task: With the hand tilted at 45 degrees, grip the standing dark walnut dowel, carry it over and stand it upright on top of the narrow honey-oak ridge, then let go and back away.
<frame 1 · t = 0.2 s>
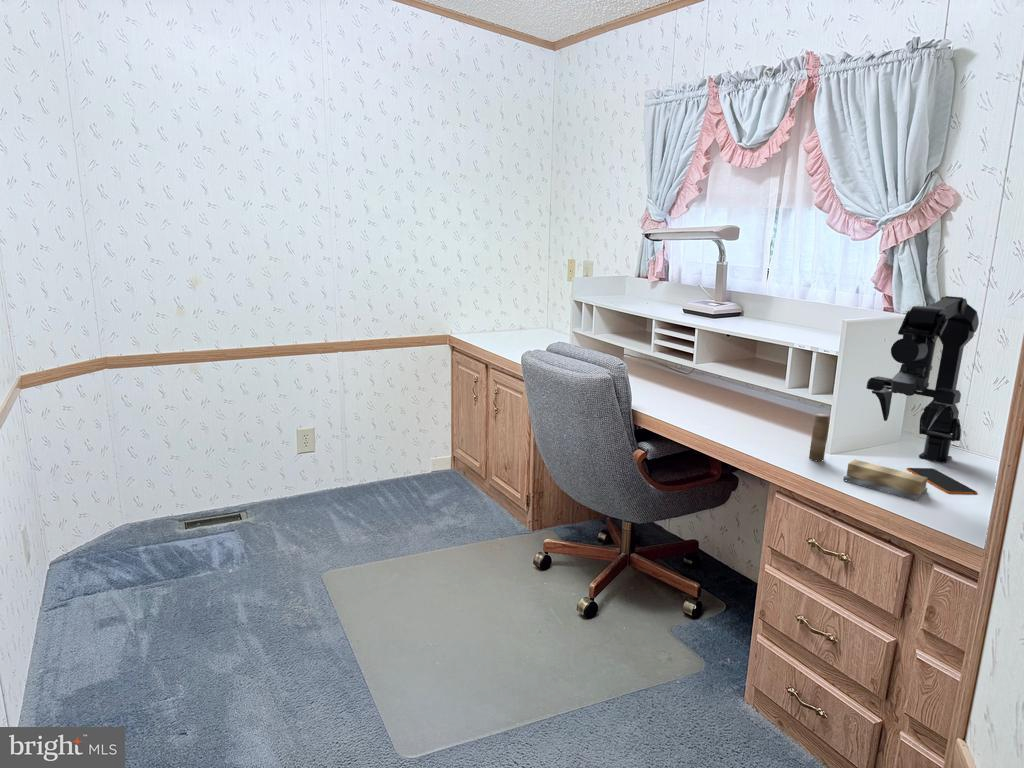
hand: (905, 425, 163), 14 cm above the table, tool pointing down, fingers open, 9 cm apart
smartphone: (939, 483, 167), on the table
walnut dowel: (816, 459, 180), on the table
oak ridge: (884, 486, 163), on the table
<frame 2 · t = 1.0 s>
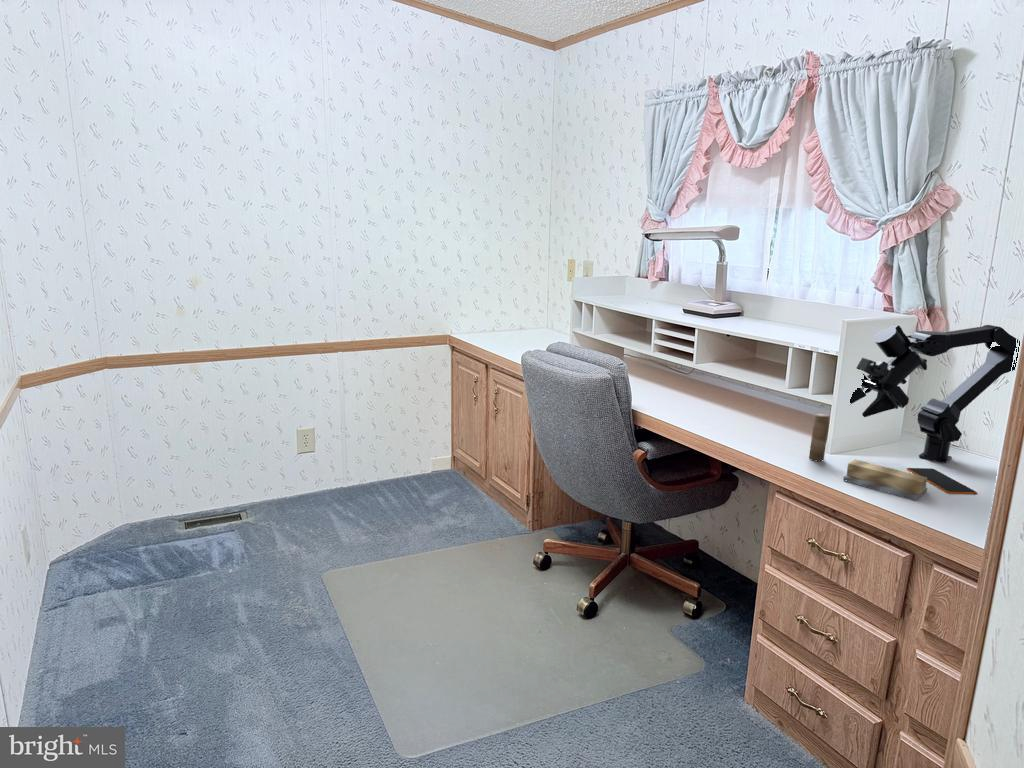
hand: (852, 411, 178), 13 cm above the table, tool tilted 45°, fingers open, 9 cm apart
nothing on the table moved.
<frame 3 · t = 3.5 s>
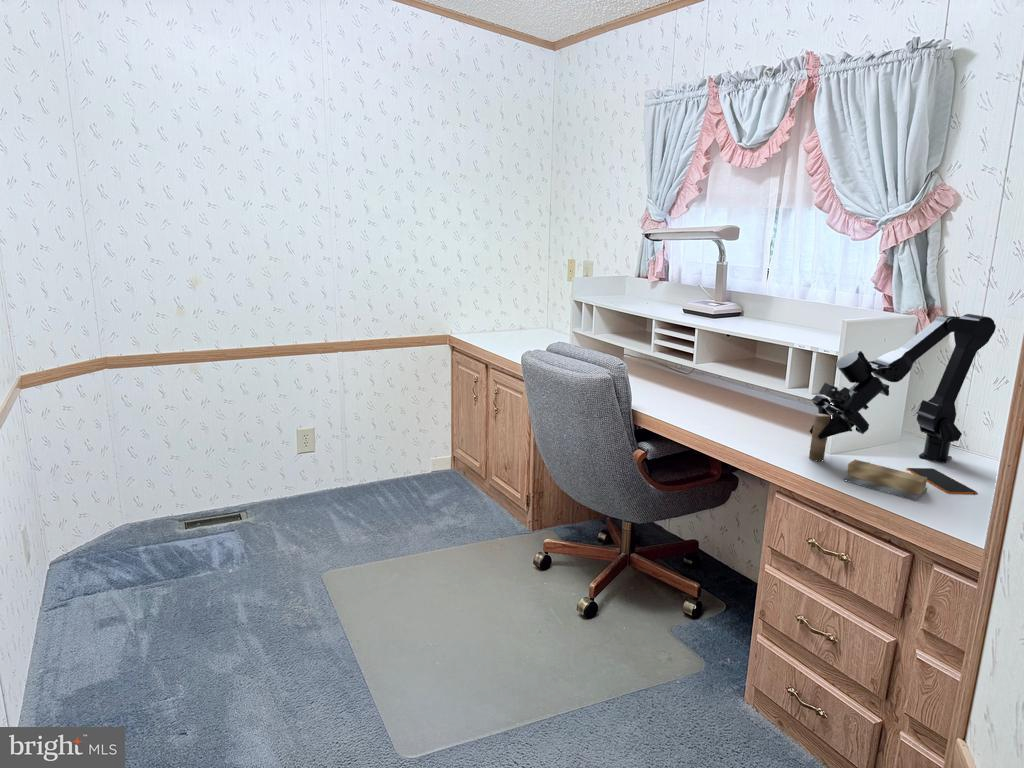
hand: (814, 435, 179), 7 cm above the table, tool tilted 45°, fingers closed on walnut dowel, 4 cm apart
walnut dowel: (816, 459, 180), on the table, touching gripper
everything else where it was.
when the fingers open (11 cm above the table, at t = 8.1 s): walnut dowel stays where it is, resting on oak ridge.
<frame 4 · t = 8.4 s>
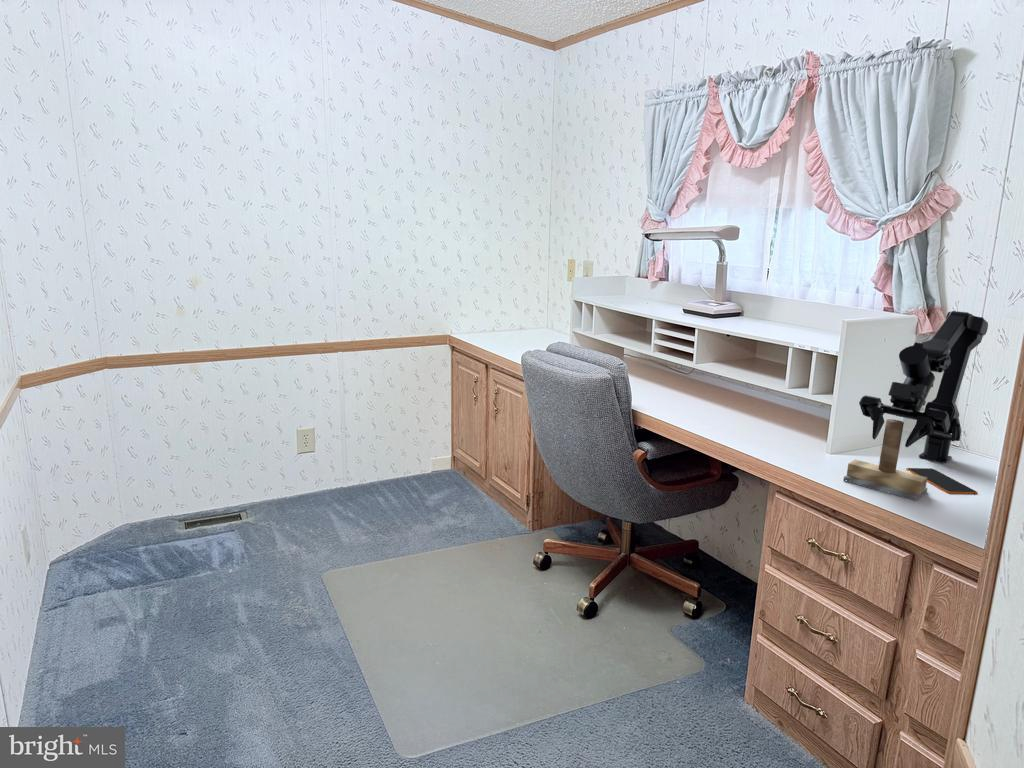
hand: (889, 442, 159), 11 cm above the table, tool tilted 45°, fingers open, 7 cm apart
walnut dowel: (886, 470, 162), point 4 cm above the table, touching oak ridge
everything else where it was.
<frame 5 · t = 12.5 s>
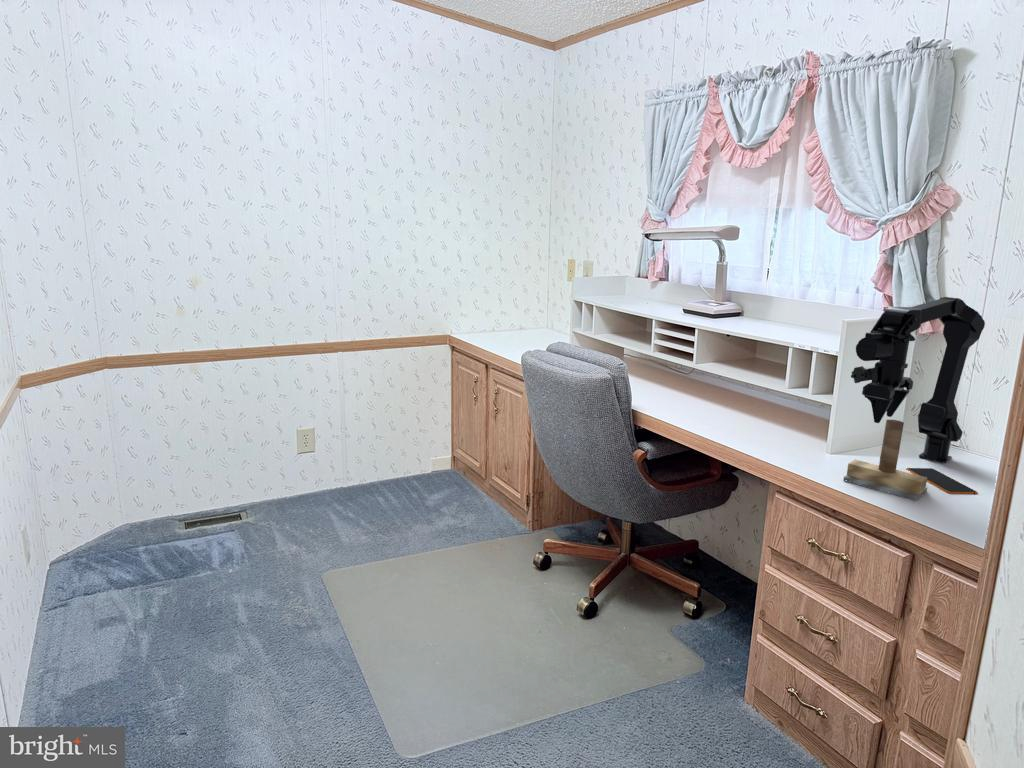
hand: (883, 419, 172), 13 cm above the table, tool pointing down, fingers open, 9 cm apart
nothing on the table moved.
at the end: walnut dowel inside the target area on the oak ridge (0.0 cm from its centre), point 4.0 cm above the oak ridge's base; walnut dowel tilted 0°; the gripper is holding nothing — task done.
